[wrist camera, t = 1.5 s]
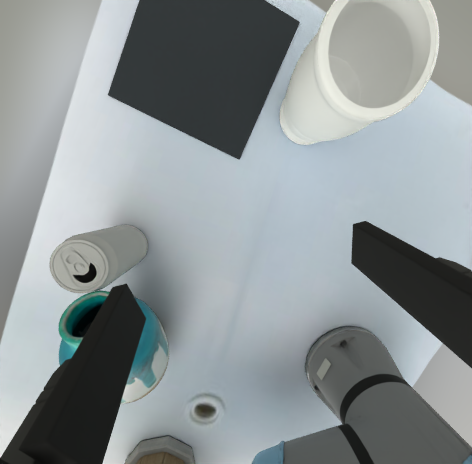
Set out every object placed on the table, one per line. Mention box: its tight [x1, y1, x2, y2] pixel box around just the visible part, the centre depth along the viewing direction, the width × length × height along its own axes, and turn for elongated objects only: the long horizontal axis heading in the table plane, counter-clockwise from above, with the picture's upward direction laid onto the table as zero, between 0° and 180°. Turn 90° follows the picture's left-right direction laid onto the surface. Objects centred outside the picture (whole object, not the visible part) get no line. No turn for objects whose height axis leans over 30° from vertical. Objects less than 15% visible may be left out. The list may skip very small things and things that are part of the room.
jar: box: [280, 0, 439, 145], centre depth 24 cm, size 11×10×15 cm
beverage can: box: [50, 225, 148, 293], centre depth 27 cm, size 6×6×12 cm
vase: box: [59, 291, 169, 404], centre depth 27 cm, size 11×11×19 cm
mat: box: [108, 0, 300, 159], centre depth 29 cm, size 20×20×1 cm
